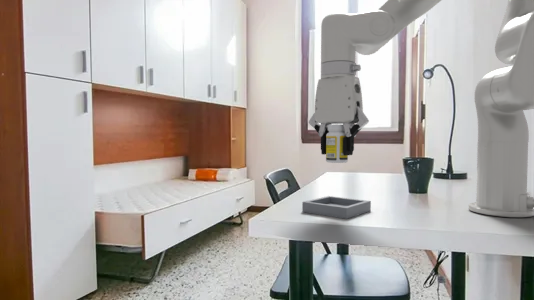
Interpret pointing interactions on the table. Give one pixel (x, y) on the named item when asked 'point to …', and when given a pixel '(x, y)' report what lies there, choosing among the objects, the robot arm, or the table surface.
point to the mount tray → (336, 207)
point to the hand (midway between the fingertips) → (336, 153)
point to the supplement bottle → (335, 144)
